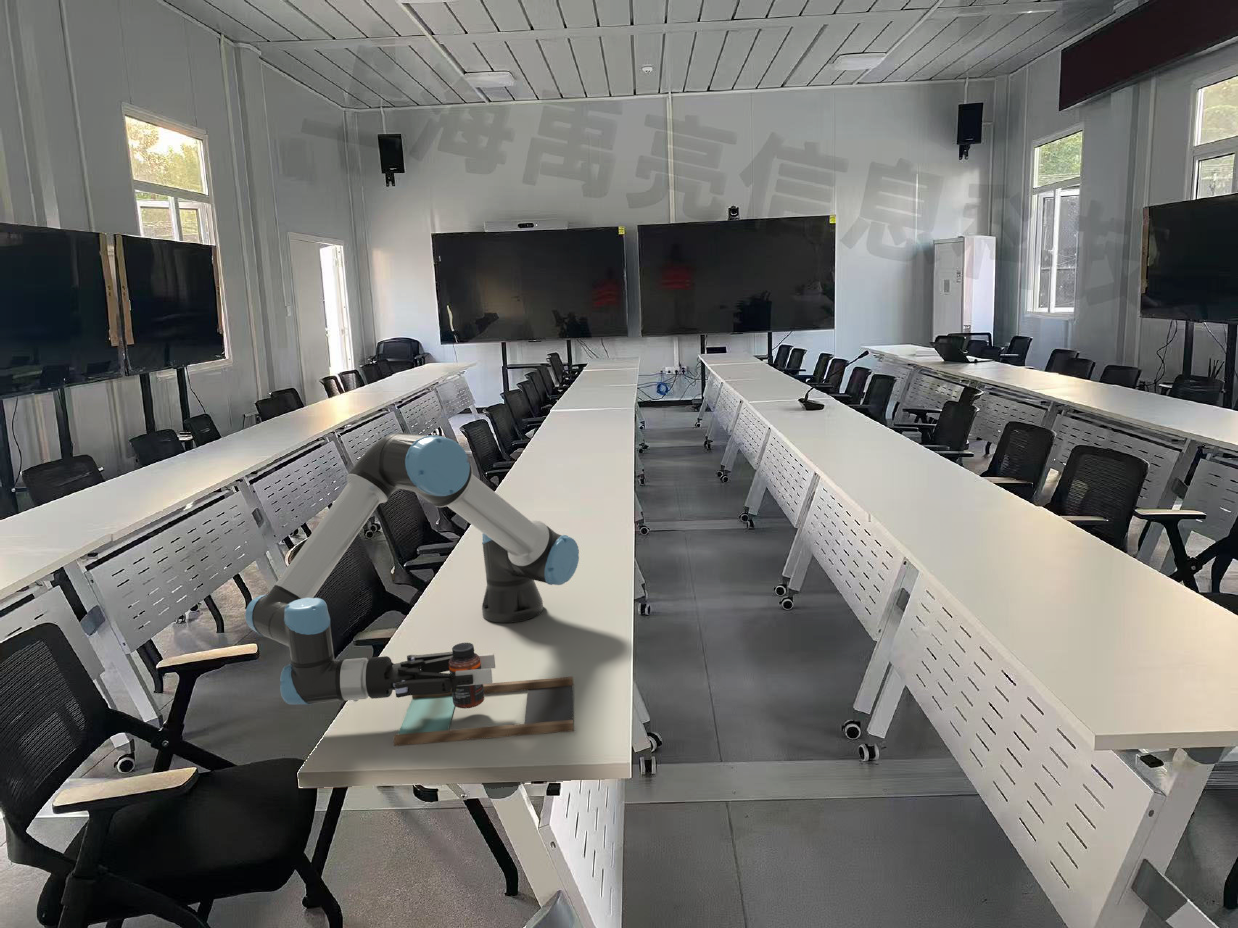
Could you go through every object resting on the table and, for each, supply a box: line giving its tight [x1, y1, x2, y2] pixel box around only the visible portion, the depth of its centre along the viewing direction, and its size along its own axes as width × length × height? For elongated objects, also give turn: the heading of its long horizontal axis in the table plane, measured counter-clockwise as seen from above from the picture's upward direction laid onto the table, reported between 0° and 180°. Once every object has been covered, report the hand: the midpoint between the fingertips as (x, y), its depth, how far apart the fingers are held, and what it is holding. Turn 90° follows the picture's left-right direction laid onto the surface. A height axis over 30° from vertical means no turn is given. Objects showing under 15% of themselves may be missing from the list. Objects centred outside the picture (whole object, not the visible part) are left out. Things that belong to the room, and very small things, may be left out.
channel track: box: [393, 676, 574, 747], centre depth 164 cm, size 32×19×2 cm, turn 93°
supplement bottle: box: [448, 642, 485, 709], centre depth 162 cm, size 6×6×11 cm
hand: (493, 668), depth 162 cm, fingers closed on supplement bottle, 6 cm apart
